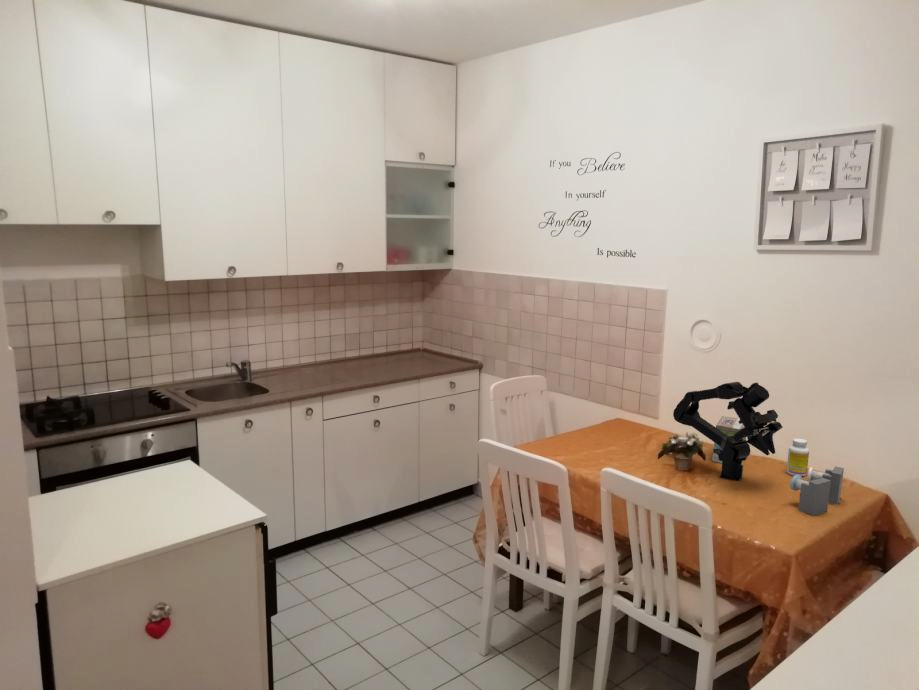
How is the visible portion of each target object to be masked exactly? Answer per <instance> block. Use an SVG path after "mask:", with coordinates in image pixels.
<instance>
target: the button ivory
mask: <svg viewBox="0 0 919 690" xmlns="http://www.w3.org/2000/svg"><path fill="white" fill-rule="evenodd" d="M823 474H827V473H825V472H823V471H818V470H814V467H811V466H810V467H808V469H807V475H806V476H807V477H806V480H807V482H809V481H812V480H817V479H820V478H822V476H823ZM827 475H830V474H827Z"/></svg>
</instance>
